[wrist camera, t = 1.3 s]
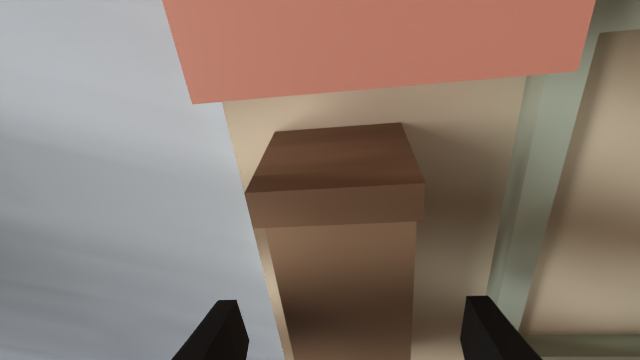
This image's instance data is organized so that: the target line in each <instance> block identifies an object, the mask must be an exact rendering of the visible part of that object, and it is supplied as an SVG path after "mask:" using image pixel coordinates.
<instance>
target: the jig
mask: <svg viewBox="0 0 640 360" xmlns="http://www.w3.org/2000/svg"><path fill="white" fill-rule="evenodd" d="M222 104H223V108H224V113H225V117H226V121H227V125H228V129H229V133H230V137H231V141H232V145H233V149H234V153H235V157H236V161H237V165H238V169H239V174H240V178H241V182H242V186H243V190H244V193H245V191H246V189H247V187H248V185H249V183H250V181H251V179H252V177H253V175H254V173H255V171H256V169H257V167H258V165H259V163H260V161H261V158H262V156H263V154H264V152H265V150H266V148H267V146H268V144H269V142H270V140H271V138H272V136H273V134H274V132H276V131H290V130H303V129H316V128H330V127H343V126H357V125H370V124H384V123H397V122H401V124H402V126H403V129H404V131H405V134H406V136H407V139H408V141H409V144H410V146H411V148H412V151H413V153H414V156H415V158H416V161H417V163H418V166H419V168H420V170H421V173H422V175H423V178H424V180H425V183H426V187H425V205H424V221H416V243H415V267H414V291H413V315H412V339H411V360H465V359H464V355H463V351H462V346H461V342H460V335H461V329H462V322H463V315H464V309H465V302H466V296H486V295H488V296H489V297H490V298H491V299H492V300H493V302H494V303H495V304H496V305H497V307H498V308H499V309H500V310H501V312H502V313H503V314H504V315H505V317H506V318H507V319H508V320H509V321H510V323H511V324H512V325H513V326H514V327H515V329H516V330H517V331H518V332H519V333H520V334H521V336H522V337H523V338H524V339H525V340H526V341H527V343H528V344H529V345H530V346H531V347H532V348H533V349H534V351H535V352H536V353H537V354H538V355H539V356H540V357H541V358H542V359H543V360H640V0H596V1H595V5H594V9H593V13H592V17H591V21H590V25H589V29H588V33H587V37H586V41H585V44H584V48H583V52H582V56H581V60H580V64H579V68H578V71H576V72H564V73H553V74H541V75H529V76H517V77H506V78H494V79H482V80H471V81H459V82H447V83H435V84H424V85H412V86H400V87H388V88H377V89H365V90H353V91H341V92H330V93H318V94H306V95H294V96H283V97H271V98H259V99H247V100H236V101H224V102H222ZM253 230H254V234H255V239H256V243H257V247H258V251H259V255H260V259H261V263H262V267H263V271H264V275H265V279H266V283H267V287H268V291H269V295H270V300H271V304H272V308H273V312H274V316H275V320H276V324H277V328H278V332H279V336H280V340H281V344H282V348H283V352H284V356H285V360H294V357H293V352H292V348H291V343H290V339H289V335H288V330H287V326H286V321H285V317H284V312H283V308H282V304H281V299H280V295H279V290H278V286H277V281H276V277H275V272H274V268H273V264H272V259H271V255H270V250H269V246H268V241H267V237H266V233H265V228H254V229H253Z"/></svg>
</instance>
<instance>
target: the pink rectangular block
mask: <svg viewBox="0 0 640 360" xmlns="http://www.w3.org/2000/svg"><path fill="white" fill-rule="evenodd" d="M162 1H163V5H164V8H165V11H166V15H167V18H168V22H169V25H170V29H171V32H172V36H173V39H174V43H175V46H176V49H177V53H178V56H179V60H180V63H181V67H182V70H183V74H184V77H185V80H186V84H187V87H188V91H189V94H190V98H191V101H192V104H201V103H212V102H224V101H236V100H247V99H259V98H271V97H283V96H294V95H306V94H318V93H330V92H341V91H353V90H365V89H377V88H388V87H400V86H412V85H424V84H435V83H447V82H459V81H471V80H482V79H494V78H506V77H517V76H529V75H541V74H553V73H564V72H576V71H578V68H579V64H580V60H581V56H582V52H583V48H584V44H585V41H586V37H587V33H588V29H589V25H590V21H591V17H592V13H593V9H594V5H595V1H596V0H162Z"/></svg>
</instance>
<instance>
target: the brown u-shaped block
mask: <svg viewBox="0 0 640 360" xmlns="http://www.w3.org/2000/svg"><path fill="white" fill-rule="evenodd" d="M425 187H426V183H425V180H424V178H423V175H422V173H421V170H420V168H419V166H418V163H417V161H416V158H415V156H414V153H413V151H412V148H411V146H410V144H409V141H408V139H407V136H406V134H405V131H404V129H403V126H402V124H401V122H397V123H384V124H370V125H357V126H343V127H330V128H316V129H303V130H290V131H276V132H274V134H273V136H272V138H271V140H270V142H269V144H268V146H267V148H266V150H265V152H264V154H263V156H262V158H261V161H260V163H259V165H258V167H257V169H256V171H255V173H254V175H253V177H252V179H251V181H250V183H249V185H248V187H247V189H246V191H245V193H244V194H245V198H246V202H247V206H248V210H249V214H250V218H251V222H252V226H253V229H254V228H265V233H266V237H267V241H268V246H269V250H270V255H271V259H272V264H273V268H274V272H275V277H276V281H277V286H278V290H279V295H280V299H281V304H282V308H283V312H284V317H285V321H286V326H287V330H288V335H289V339H290V343H291V348H292V352H293V357H294V360H411V339H412V315H413V291H414V267H415V243H416V221H424V205H425Z"/></svg>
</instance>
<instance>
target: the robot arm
mask: <svg viewBox="0 0 640 360" xmlns="http://www.w3.org/2000/svg"><path fill="white" fill-rule="evenodd" d="M460 342H461V346H462V351H463V355H464V359H465V360H543V359H542V358H541V357H540V356H539V355H538V354H537V353H536V352H535V351H534V349H533V348H532V347H531V346H530V345H529V344H528V343H527V341H526V340H525V339H524V338H523V337H522V336H521V334H520V333H519V332H518V331H517V330H516V329H515V327H514V326H513V325H512V324H511V323H510V321H509V320H508V319H507V318H506V317H505V315H504V314H503V313H502V312H501V310H500V309H499V308H498V307H497V305H496V304H495V303H494V302H493V300H492V299H491V298H490V297H489V296H488V295H486V296H466V302H465V309H464V315H463V322H462V329H461V335H460ZM248 345H249V338H248V335H247V332H246V329H245V325H244V322H243V319H242V316H241V313H240V310H239V307H238V303H237V300H218V301H217V302H216V304H215V305H214V306H213V307H212V309H211V310H210V311H209V313H208V314H207V315H206V317H205V318H204V319H203V320H202V322H201V323H200V324H199V326H198V327H197V328H196V329H195V331H194V332H193V333H192V335H191V336H190V337H189V338H188V340H187V341H186V342H185V343H184V345H183V346H182V347H181V348H180V350H179V351H178V352H177V353H176V355H175V356H174V357H173V358H172V359H171V360H246V357H247V351H248Z"/></svg>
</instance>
